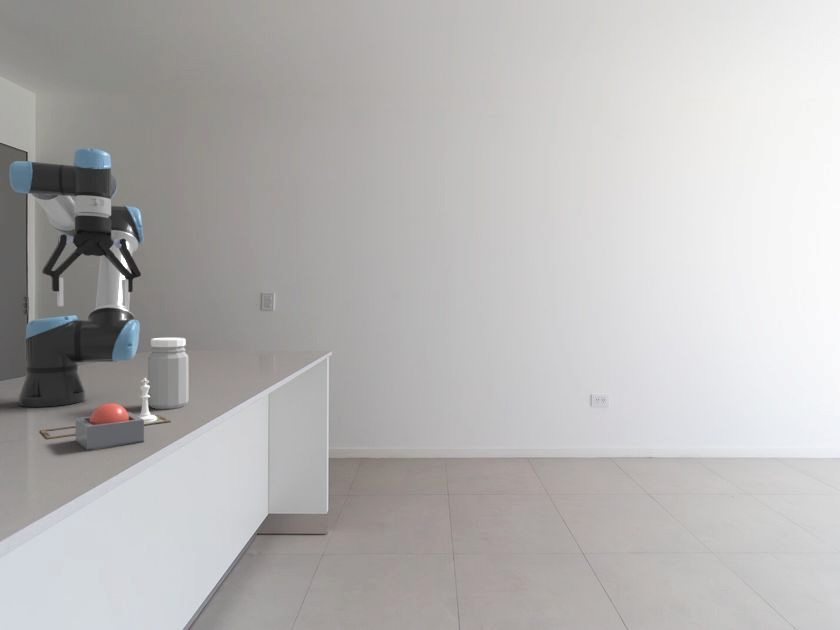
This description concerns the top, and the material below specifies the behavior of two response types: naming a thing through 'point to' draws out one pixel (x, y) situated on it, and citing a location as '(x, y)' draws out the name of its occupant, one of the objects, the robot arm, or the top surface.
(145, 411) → the chess piece
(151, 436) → the top surface
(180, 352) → the jar
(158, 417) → the brown wooden flat frame
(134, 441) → the housing
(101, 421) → the coral red ball
